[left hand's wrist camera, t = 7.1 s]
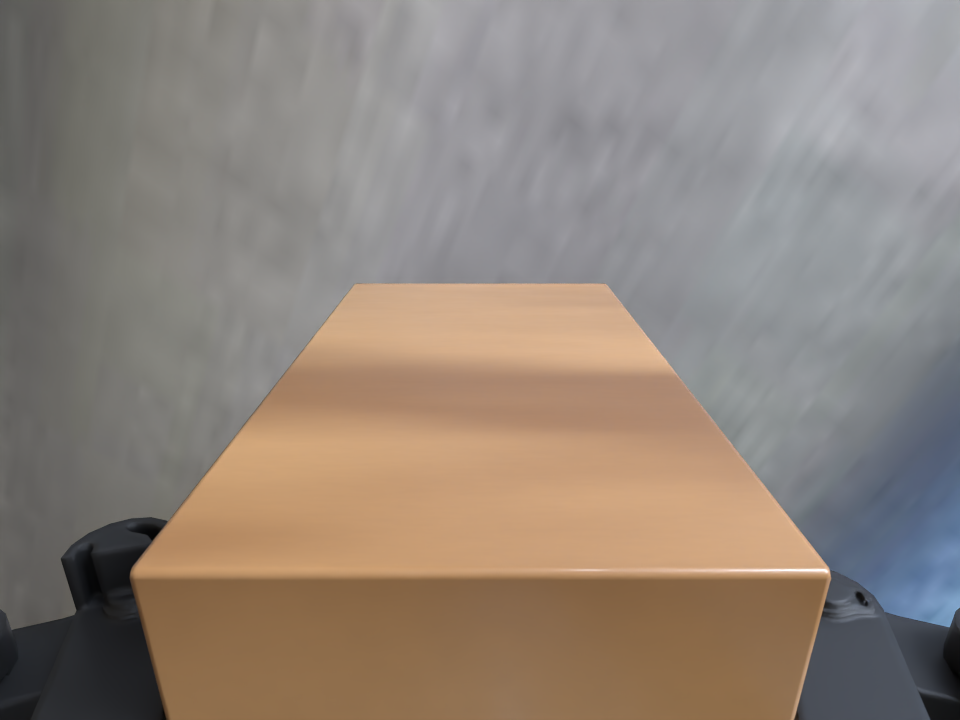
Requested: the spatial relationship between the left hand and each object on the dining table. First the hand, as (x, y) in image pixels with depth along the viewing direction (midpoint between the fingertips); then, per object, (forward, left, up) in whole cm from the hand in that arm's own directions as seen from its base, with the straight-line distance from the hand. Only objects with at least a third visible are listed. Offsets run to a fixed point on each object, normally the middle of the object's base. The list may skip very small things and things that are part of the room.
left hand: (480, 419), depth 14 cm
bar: (+10, +3, -1) cm, 10 cm away
